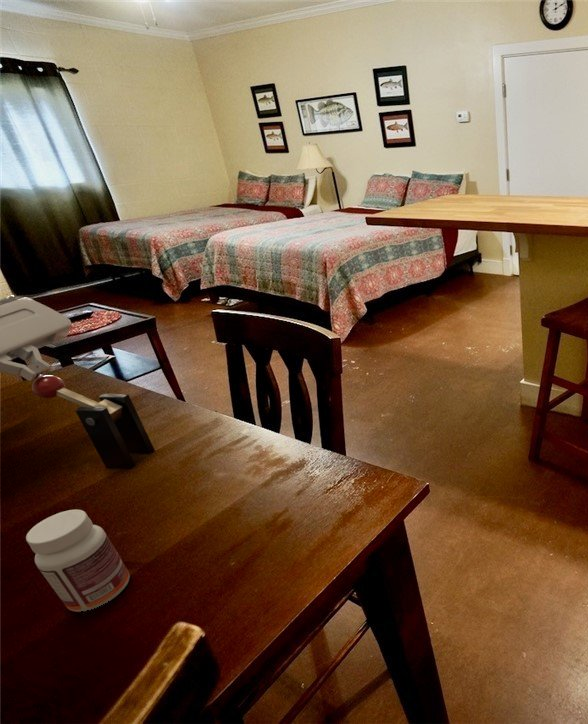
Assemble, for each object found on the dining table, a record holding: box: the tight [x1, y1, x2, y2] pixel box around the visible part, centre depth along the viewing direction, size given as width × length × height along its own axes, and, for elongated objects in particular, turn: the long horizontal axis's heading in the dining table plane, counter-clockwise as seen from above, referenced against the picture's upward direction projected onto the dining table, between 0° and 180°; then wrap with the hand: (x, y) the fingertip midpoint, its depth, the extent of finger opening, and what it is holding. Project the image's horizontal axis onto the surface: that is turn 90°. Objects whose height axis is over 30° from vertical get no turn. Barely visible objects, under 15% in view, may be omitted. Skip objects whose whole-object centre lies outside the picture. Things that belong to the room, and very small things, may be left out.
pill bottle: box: [25, 509, 131, 613], centre depth 56 cm, size 6×6×11 cm
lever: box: [31, 374, 122, 421], centre depth 75 cm, size 12×4×4 cm
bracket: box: [74, 393, 156, 470], centre depth 78 cm, size 9×7×13 cm
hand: (41, 374), depth 73 cm, fingers closed, pressing on lever
